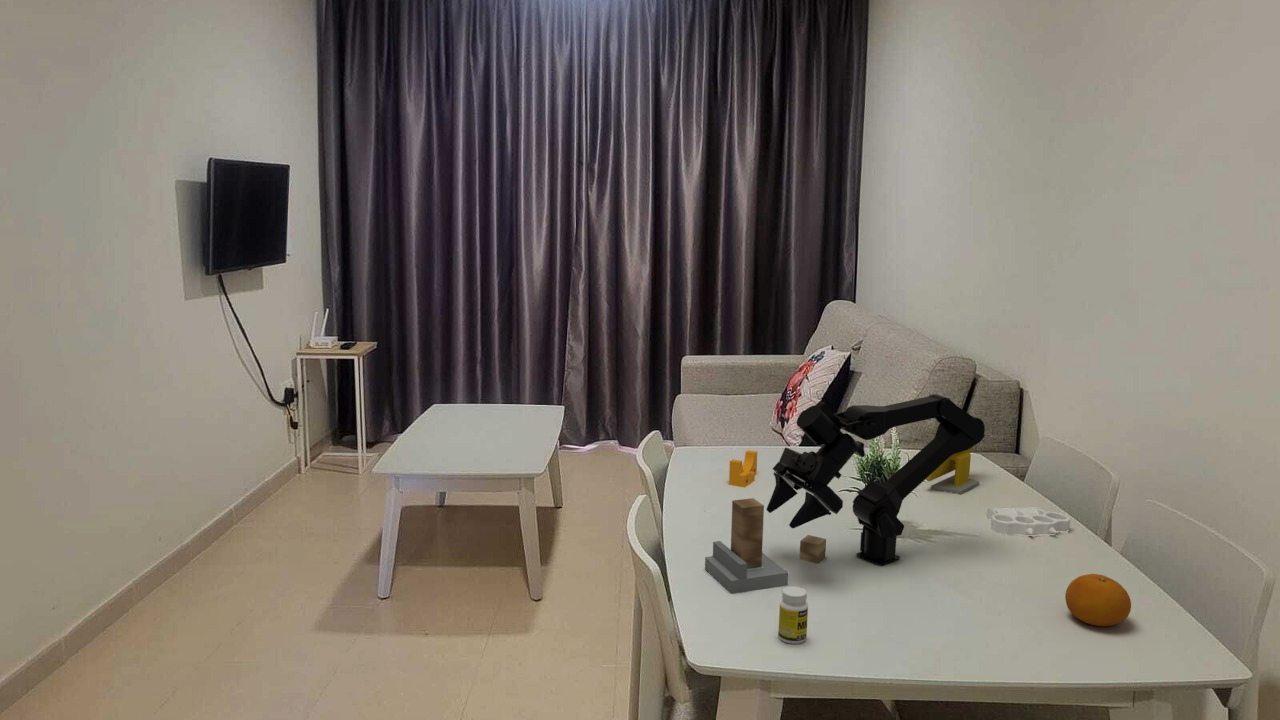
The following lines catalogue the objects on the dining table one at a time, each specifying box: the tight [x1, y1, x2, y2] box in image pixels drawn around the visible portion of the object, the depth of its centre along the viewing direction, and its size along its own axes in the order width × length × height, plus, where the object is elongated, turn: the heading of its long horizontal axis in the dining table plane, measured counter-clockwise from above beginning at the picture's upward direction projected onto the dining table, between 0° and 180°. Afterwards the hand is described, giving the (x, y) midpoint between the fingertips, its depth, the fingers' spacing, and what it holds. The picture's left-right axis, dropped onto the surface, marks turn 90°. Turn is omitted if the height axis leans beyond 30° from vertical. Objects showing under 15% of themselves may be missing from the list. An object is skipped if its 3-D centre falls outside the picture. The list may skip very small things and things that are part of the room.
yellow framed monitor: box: [925, 446, 980, 495], centre depth 238 cm, size 20×8×16 cm, turn 136°
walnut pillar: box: [730, 497, 765, 569], centre depth 180 cm, size 4×4×12 cm
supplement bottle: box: [777, 586, 809, 645], centre depth 156 cm, size 5×5×8 cm
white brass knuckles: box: [985, 506, 1071, 536], centre depth 210 cm, size 3×18×15 cm
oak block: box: [799, 534, 827, 564], centre depth 191 cm, size 4×4×4 cm
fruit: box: [1064, 573, 1132, 627], centre depth 164 cm, size 10×10×8 cm
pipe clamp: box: [728, 449, 758, 488], centre depth 242 cm, size 12×4×6 cm, turn 150°
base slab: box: [704, 540, 789, 594], centre depth 181 cm, size 12×12×6 cm
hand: (779, 519), depth 181 cm, fingers open, 9 cm apart
